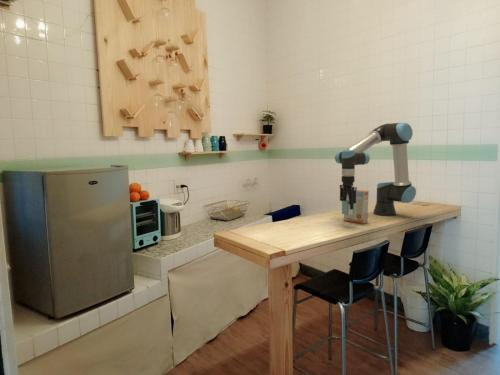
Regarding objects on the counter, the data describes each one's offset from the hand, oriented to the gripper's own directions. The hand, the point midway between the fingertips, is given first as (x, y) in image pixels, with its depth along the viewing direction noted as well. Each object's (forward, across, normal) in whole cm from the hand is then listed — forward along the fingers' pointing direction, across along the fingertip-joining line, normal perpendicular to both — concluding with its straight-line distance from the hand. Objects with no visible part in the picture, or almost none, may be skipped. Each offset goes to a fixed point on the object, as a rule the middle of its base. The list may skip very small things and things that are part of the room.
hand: (347, 213), depth 204 cm
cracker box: (+9, -9, +13) cm, 18 cm away
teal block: (0, 0, 0) cm, 0 cm away
